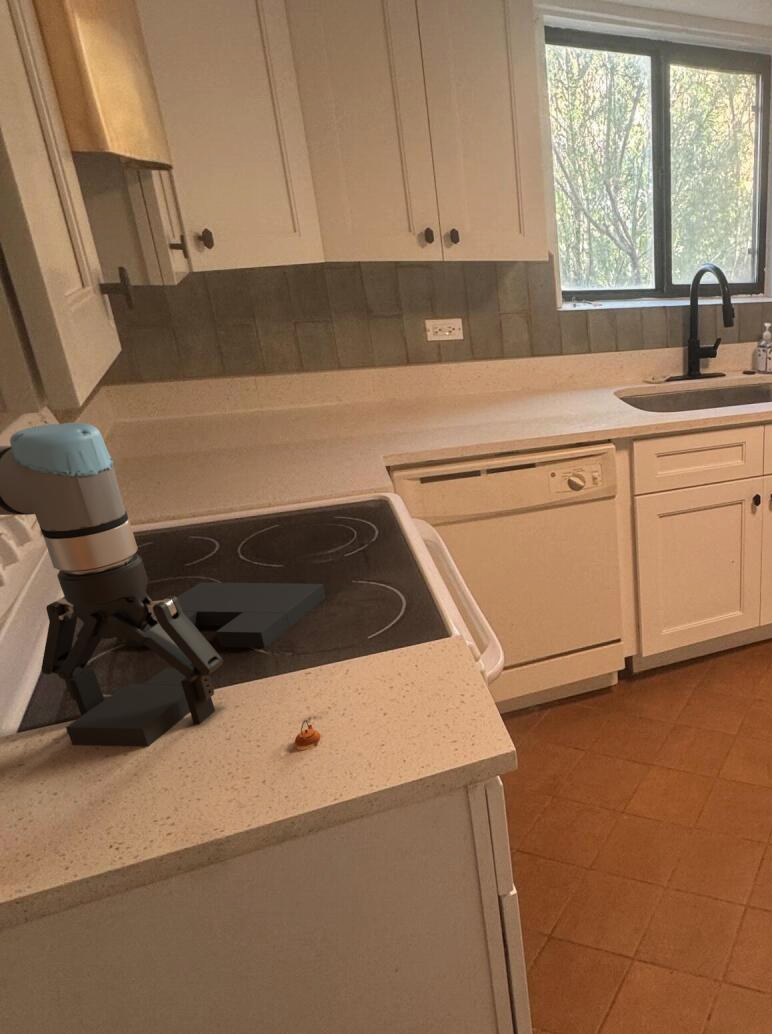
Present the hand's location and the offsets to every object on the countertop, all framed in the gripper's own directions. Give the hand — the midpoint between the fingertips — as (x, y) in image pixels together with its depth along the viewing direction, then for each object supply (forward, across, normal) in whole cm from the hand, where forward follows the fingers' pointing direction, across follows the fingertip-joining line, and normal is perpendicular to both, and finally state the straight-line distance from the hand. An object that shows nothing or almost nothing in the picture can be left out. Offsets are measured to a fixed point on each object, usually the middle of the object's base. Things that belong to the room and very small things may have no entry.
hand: (151, 721), depth 95 cm
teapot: (+1, -21, +2) cm, 21 cm away
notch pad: (+1, +6, -25) cm, 26 cm away
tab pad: (+1, 0, -1) cm, 1 cm away
